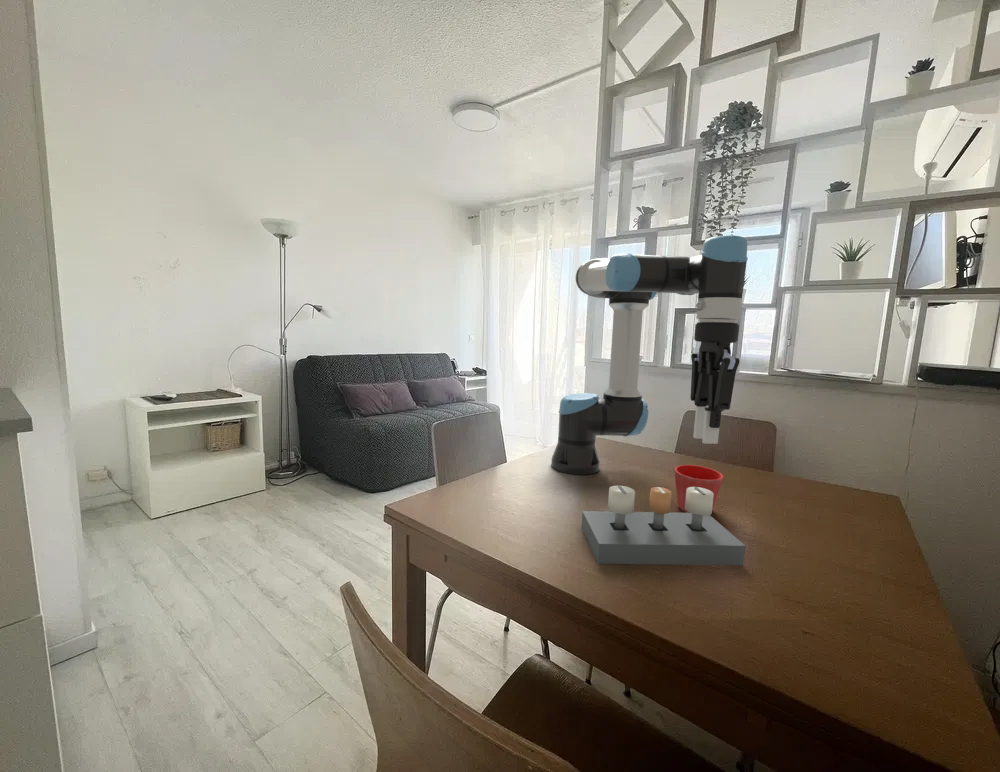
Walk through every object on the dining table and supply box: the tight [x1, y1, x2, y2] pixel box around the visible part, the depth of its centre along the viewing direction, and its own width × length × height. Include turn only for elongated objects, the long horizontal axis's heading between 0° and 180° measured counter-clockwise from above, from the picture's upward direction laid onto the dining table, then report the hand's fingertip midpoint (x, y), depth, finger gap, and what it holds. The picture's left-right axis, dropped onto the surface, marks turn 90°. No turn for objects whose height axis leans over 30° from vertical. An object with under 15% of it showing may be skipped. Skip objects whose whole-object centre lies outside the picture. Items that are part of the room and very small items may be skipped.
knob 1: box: [607, 485, 636, 529], centre depth 85 cm, size 5×5×8 cm
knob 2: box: [685, 487, 714, 530], centre depth 86 cm, size 5×5×8 cm
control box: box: [581, 510, 746, 566], centre depth 86 cm, size 14×28×4 cm, turn 92°
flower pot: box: [674, 464, 724, 513], centre depth 104 cm, size 11×11×10 cm
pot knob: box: [648, 486, 673, 529], centre depth 86 cm, size 4×4×8 cm
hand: (705, 440), depth 84 cm, fingers open, 3 cm apart
